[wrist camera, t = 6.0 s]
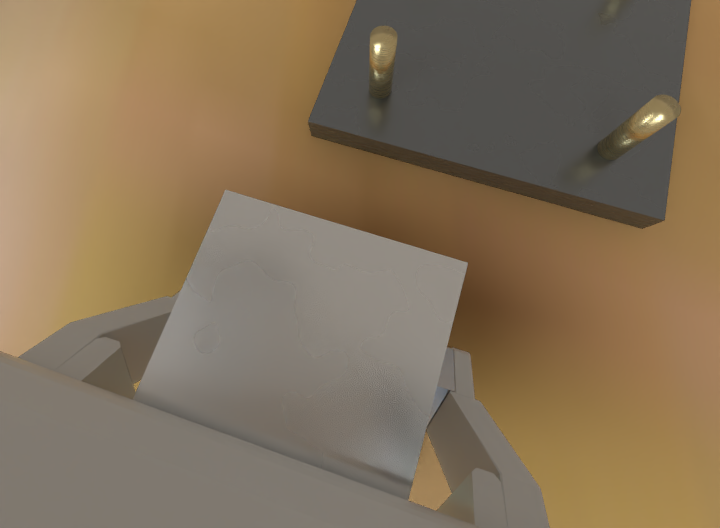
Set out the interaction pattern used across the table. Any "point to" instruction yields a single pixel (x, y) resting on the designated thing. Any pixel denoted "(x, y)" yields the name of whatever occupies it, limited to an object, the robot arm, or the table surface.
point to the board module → (309, 341)
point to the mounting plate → (517, 95)
